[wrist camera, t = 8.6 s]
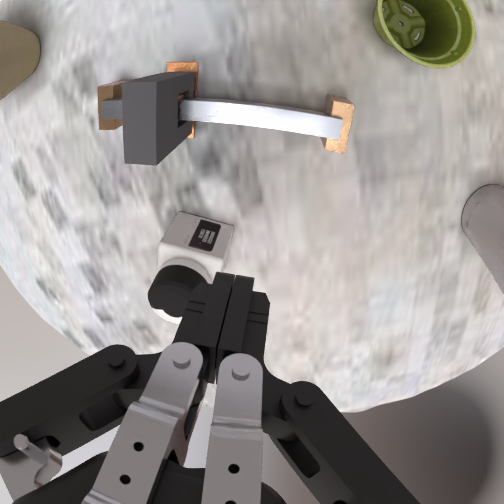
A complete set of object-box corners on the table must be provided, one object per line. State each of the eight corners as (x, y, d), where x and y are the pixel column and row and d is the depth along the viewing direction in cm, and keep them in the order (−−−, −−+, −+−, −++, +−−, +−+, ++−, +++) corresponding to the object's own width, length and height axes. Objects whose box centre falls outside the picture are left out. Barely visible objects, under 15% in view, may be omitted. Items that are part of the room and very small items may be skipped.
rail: (348, 81, 29) (361, 87, 24) (334, 156, 34) (342, 176, 29) (119, 64, 30) (90, 70, 25) (120, 134, 35) (94, 150, 30)
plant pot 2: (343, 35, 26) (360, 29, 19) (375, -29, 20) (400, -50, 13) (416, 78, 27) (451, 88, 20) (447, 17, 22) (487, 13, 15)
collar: (194, 72, 28) (156, 81, 20) (191, 133, 33) (156, 165, 24) (168, 71, 29) (122, 82, 20) (166, 131, 33) (124, 163, 24)
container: (178, 210, 41) (140, 272, 30) (235, 225, 41) (214, 294, 31) (172, 255, 45) (140, 320, 35) (223, 269, 46) (203, 339, 35)
